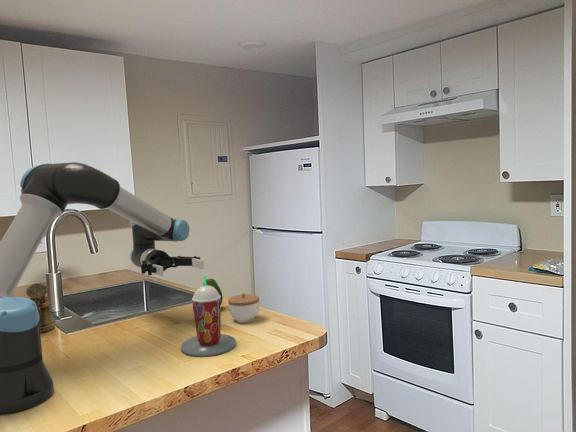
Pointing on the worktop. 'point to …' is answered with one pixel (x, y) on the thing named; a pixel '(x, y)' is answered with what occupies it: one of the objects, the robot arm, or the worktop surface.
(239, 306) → the lidded jar
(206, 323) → the smoothie
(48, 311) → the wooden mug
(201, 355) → the slate plate
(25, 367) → the robot arm
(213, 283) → the avocado
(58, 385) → the worktop surface
